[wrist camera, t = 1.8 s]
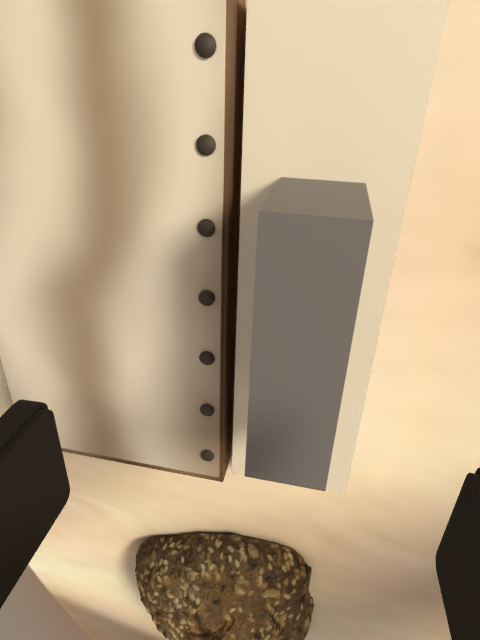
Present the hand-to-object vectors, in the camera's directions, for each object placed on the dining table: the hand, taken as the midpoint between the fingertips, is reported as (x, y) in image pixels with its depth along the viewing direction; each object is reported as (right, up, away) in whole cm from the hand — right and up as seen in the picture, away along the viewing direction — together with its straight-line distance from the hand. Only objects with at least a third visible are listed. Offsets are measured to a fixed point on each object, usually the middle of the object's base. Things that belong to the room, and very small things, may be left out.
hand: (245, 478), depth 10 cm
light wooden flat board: (-6, +6, +11) cm, 14 cm away
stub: (+3, +5, +10) cm, 11 cm away
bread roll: (-1, -15, +22) cm, 27 cm away
